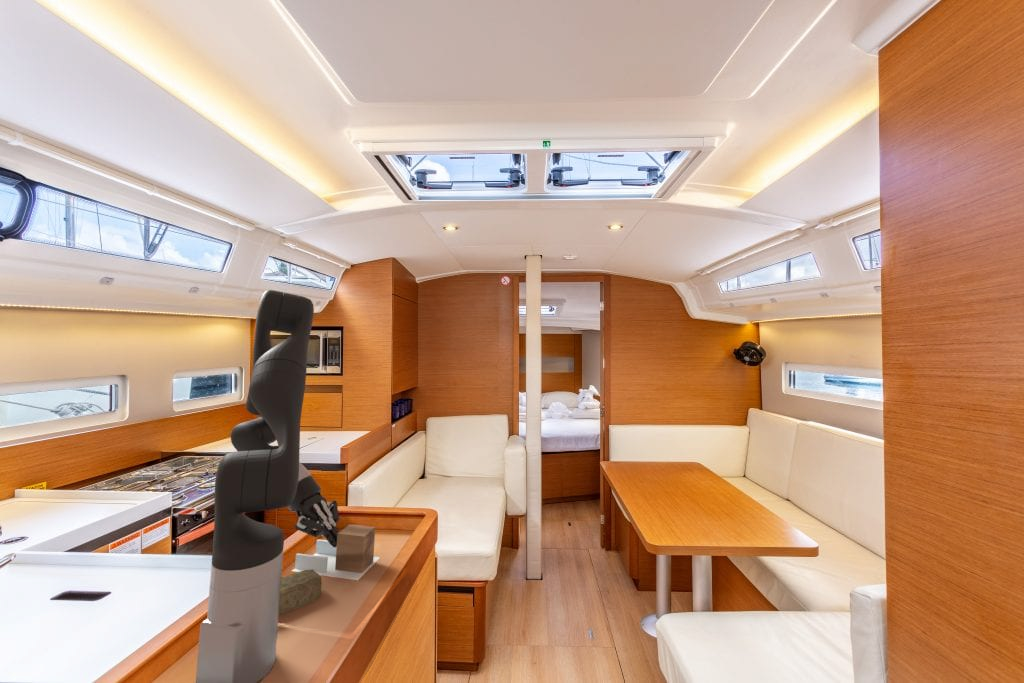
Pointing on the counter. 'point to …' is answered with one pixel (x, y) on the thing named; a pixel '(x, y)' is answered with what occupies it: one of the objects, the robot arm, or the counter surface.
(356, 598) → the counter surface
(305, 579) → the stone block
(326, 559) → the white tray
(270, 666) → the robot arm
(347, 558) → the walnut block
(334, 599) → the counter surface
